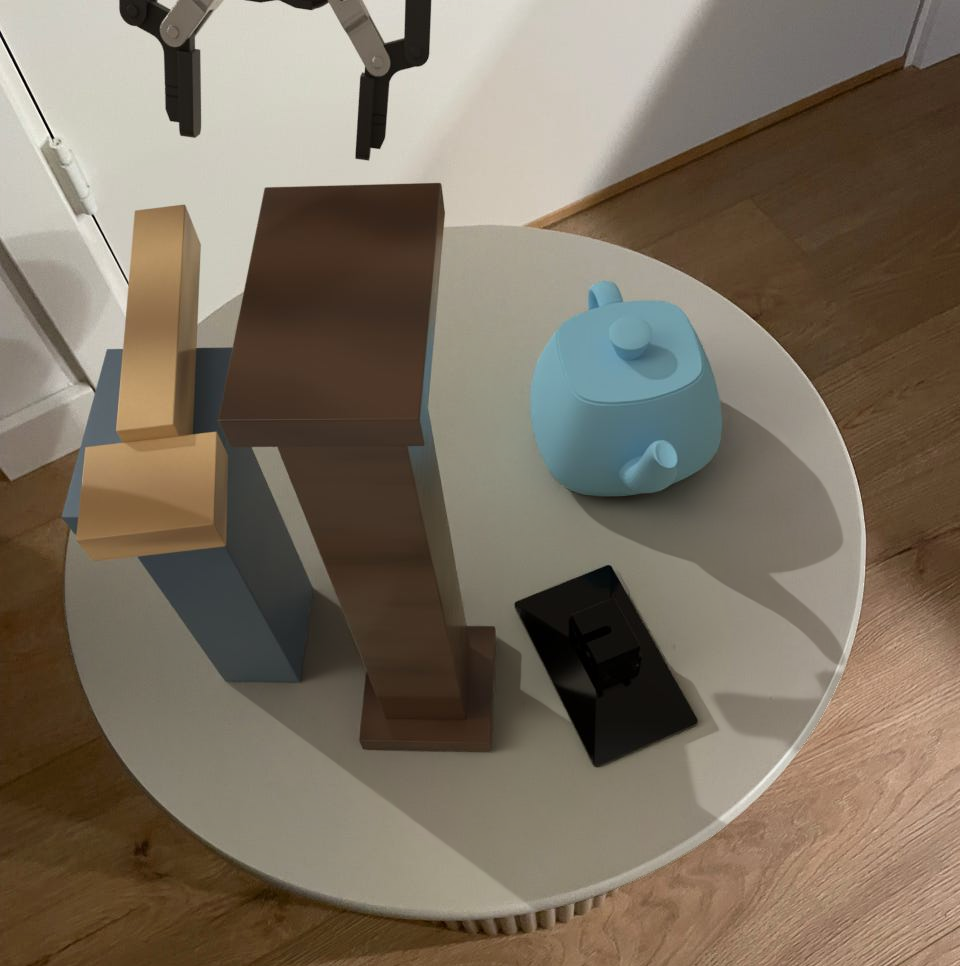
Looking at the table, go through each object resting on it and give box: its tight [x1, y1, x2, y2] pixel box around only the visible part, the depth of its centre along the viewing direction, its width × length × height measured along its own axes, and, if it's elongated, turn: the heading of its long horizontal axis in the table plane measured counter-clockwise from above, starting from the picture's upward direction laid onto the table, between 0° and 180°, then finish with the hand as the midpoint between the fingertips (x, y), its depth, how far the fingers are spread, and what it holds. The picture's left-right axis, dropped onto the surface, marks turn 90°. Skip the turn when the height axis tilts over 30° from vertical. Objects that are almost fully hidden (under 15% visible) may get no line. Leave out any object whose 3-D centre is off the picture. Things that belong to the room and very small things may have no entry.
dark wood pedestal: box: [218, 182, 497, 753], centre depth 52 cm, size 12×8×32 cm
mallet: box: [75, 204, 228, 563], centre depth 49 cm, size 19×6×3 cm, turn 5°
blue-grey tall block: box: [61, 346, 314, 683], centre depth 58 cm, size 10×7×22 cm
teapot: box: [529, 280, 723, 497], centre depth 68 cm, size 13×11×18 cm
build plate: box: [513, 564, 699, 768], centre depth 63 cm, size 12×7×5 cm, turn 23°
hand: (277, 146), depth 52 cm, fingers open, 8 cm apart
